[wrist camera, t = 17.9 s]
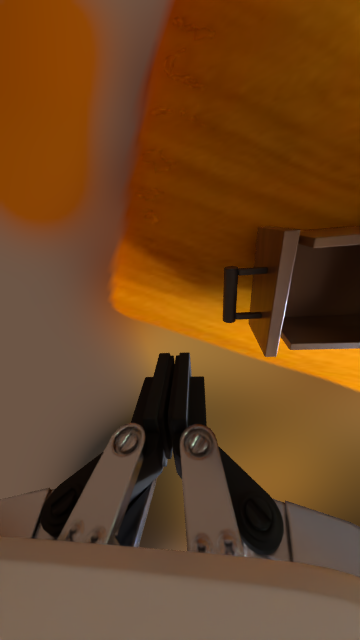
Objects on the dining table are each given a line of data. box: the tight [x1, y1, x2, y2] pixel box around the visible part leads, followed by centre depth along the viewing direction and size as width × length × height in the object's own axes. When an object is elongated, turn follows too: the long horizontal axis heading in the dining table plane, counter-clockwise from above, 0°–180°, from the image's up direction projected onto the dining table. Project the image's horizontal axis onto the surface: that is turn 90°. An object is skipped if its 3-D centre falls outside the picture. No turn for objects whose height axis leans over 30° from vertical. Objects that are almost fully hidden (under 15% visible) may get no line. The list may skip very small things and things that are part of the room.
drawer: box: [223, 226, 360, 357], centre depth 20 cm, size 19×12×7 cm, turn 95°
